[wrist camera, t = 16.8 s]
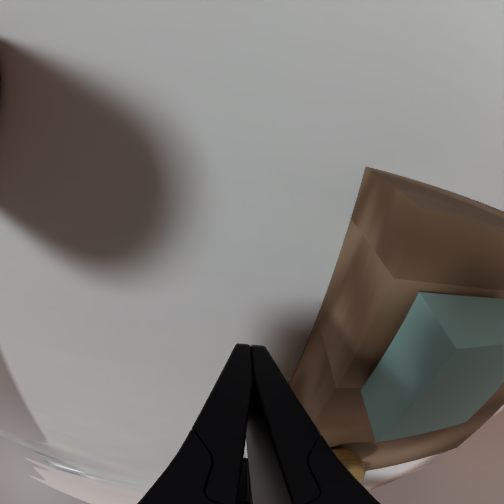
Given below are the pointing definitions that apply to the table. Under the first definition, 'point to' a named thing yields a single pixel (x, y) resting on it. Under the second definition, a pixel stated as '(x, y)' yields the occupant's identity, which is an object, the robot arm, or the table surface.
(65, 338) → the table surface
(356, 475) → the brass ball
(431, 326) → the teal block
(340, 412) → the board
